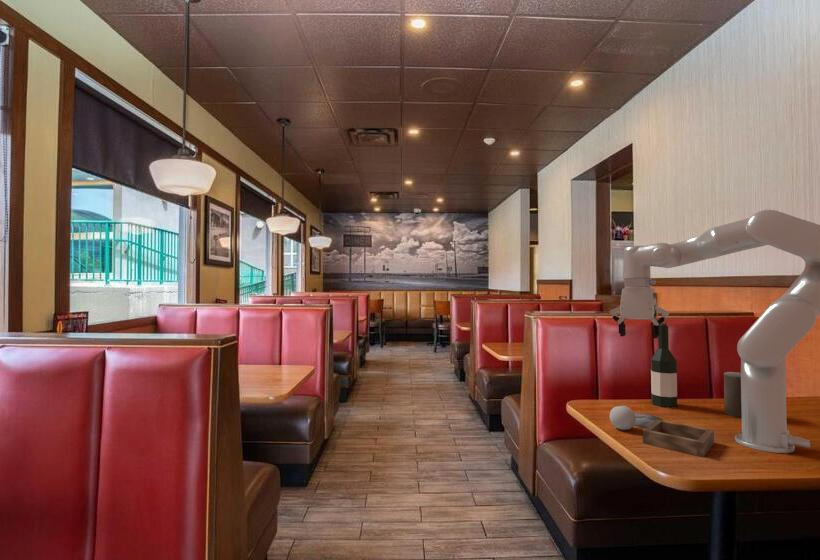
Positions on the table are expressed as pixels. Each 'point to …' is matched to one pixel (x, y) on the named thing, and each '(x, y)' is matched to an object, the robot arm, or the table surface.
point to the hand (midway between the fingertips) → (638, 337)
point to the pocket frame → (679, 437)
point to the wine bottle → (663, 373)
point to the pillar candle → (732, 394)
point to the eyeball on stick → (623, 417)
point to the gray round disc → (645, 420)
